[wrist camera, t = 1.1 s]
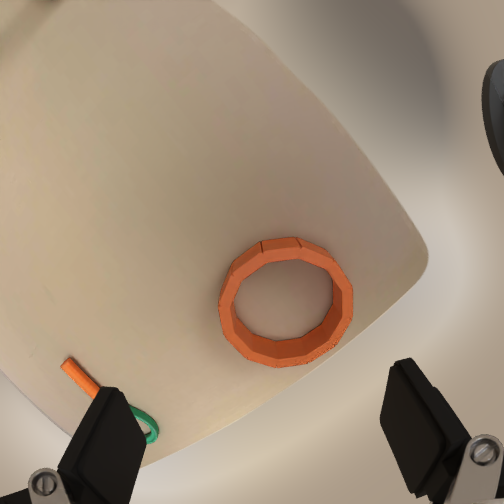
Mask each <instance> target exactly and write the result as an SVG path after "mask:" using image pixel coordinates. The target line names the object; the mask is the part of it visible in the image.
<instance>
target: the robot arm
mask: <svg viewBox="0 0 504 504" xmlns="http://www.w3.org/2000/svg"><path fill="white" fill-rule="evenodd" d="M380 424H381V427H382V429H383V431H384V434H385V435H386V438H387V440H388V443H389V445H390V447H391V449H392V452H393V454H394V456H395V458H396V461H397V464H398V466H399V468H400V471H401V473H402V475H403V478H404V480H405V483H406V485H407V488H408V490H409V492H410V493H411V494H412V493H415V495H416V498H419V497H422V496H424V495H428V498H429V500H430V501H431V502H430V504H504V449H503V446H502V443H501V442H500V441H499V439H497V438H496V437H494V436H491V435H487V434H482V435H479V436H476V437H474V438H473V439H472V438H471V436H470V435H469V433H468V432H467V430H466V429H465V428H464V426H463V424H462V423H461V421H460V420H459V418H458V417H457V416H456V414H455V413H454V411H453V410H452V408H451V407H450V405H449V404H448V403H447V401H446V400H445V398H444V397H443V396H442V394H441V393H440V391H439V390H438V389H437V388H436V387H433V386H432V385H431V383H430V382H429V381H428V379H427V378H426V377H425V375H424V374H423V372H422V371H421V370H420V368H419V367H418V365H417V364H416V363H415V361H414V360H413V359H412V358H407V359H402V360H399V361H396V362H395V363H394V366H392V367H390V370H389V376H388V381H387V386H386V391H385V396H384V401H383V405H382V410H381V414H380ZM146 445H147V441H146V437H145V435H144V433H143V431H142V430H141V428H140V426H139V424H138V422H137V420H136V418H135V416H134V414H133V412H132V410H131V408H130V406H129V404H128V402H127V400H126V398H125V396H124V394H123V392H121V391H119V389H118V388H116V387H104V386H103V387H101V388H100V389H99V391H98V393H97V394H96V396H95V398H94V400H93V401H92V403H91V405H90V407H89V408H88V410H87V412H86V414H85V416H84V417H83V419H82V421H81V423H80V425H79V427H78V428H77V430H76V432H75V434H74V436H73V438H72V440H71V441H70V443H69V445H68V447H67V449H66V451H65V453H64V455H63V457H62V459H61V461H60V463H59V465H58V470H57V472H56V471H55V470H53V469H50V468H42V469H39V470H37V471H35V472H34V473H33V474H32V475H31V477H30V478H29V482H28V488H26V489H24V490H21V491H18V492H15V493H13V494H9V495H6V496H3V497H0V504H129V502H130V499H131V495H132V492H133V488H134V485H135V481H136V478H137V475H138V471H139V468H140V465H141V461H142V458H143V455H144V452H145V448H146Z"/></svg>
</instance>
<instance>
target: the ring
mask: <svg viewBox="0 0 504 504" xmlns="http://www.w3.org/2000/svg"><path fill="white" fill-rule="evenodd" d="M261 242H262V244H261ZM261 242H258V243H257V244H256V245H254V246H253V247H252V248H250V249H249V250H248V251H246V252H245V253H244V254H242V255H241V256H240V257H238V258H237V259H235V260H234V262H233V263H232V265H231V267H230V269H229V272H228V274H227V277H226V279H225V281H224V284H223V286H222V289H221V293H220V298H219V302H218V310H219V315H220V320H221V325H222V330H223V335H224V336H225V338H226V339H227V340H228V341H229V342H230V343H231V344H232V345H233V346H234V347H235V348H236V349H237V350H238V351H239V352H240V353H241V354H242V355H243V356H244V357H245V358H246V357H247V359H248V360H251V361H254V362H257V363H260V364H264V365H267V366H270V367H274V368H276V366H277V368H282V367H289V366H296V365H302V364H308V362H309V363H310V362H312V361H313V360H315V359H316V358H318V357H320V356H321V355H323V354H324V353H326V352H327V351H329V350H330V349H332V348H334V347H335V345H337V344H338V342H339V340H340V339H341V337H342V336H343V334H344V332H345V331H346V329H347V327H348V326H349V324H350V322H351V320H352V317H353V288H352V285H351V283H350V282H349V280H348V279H347V277H346V276H345V274H344V273H343V271H342V270H341V268H340V267H339V265H338V264H337V262H336V261H335V260H334V258H333V257H332V256H331V255H330V254H329V253H328V252H327V251H326V250H325V249H323V248H321V247H319V246H316V245H314V244H312V243H309V242H307V241H305V240H302V239H300V238H298V237H296V238H295V237H288V238H280V239H272V240H265V241H261ZM292 259H301V260H303V261H306V262H308V263H311V264H313V265H316V266H318V267H321V268H323V269H326V270H327V272H328V273H329V275H330V276H331V278H332V279H333V304H332V306H331V308H330V310H329V312H328V313H327V315H326V317H325V319H324V321H323V322H322V324H321V325H320V326H318V327H317V328H315V329H314V330H312V331H311V332H309V333H308V334H306V335H305V336H303V337H302V338H298V339H291V340H284V341H276V342H275V341H272V340H269V339H266V338H263V337H260V336H257V335H254V334H252V333H251V332H250V331H249V330H248V329H247V328H246V327H245V326H244V324H243V323H242V322H241V321H240V320H239V319H238V318H237V317H236V312H235V306H234V301H233V300H234V298H235V295H236V293H237V291H238V289H239V286H240V284H241V282H242V281H243V280H244V279H245V278H247V277H248V276H250V275H251V274H252V273H254V272H255V271H256V270H258V269H259V268H261V267H262V266H263V265H265V264H266V263H269V262H277V261H284V260H292Z"/></svg>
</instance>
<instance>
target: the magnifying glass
mask: <svg viewBox="0 0 504 504" xmlns="http://www.w3.org/2000/svg"><path fill="white" fill-rule="evenodd" d="M60 367H61V368H62V369H63V370H64V371H65V372H66V373H67V374H68V375H69V377H71V378H72V379H73V380H74V381H75V382H76V383H77V384H78V385H79V386H80V387H81V388H82V389H83V390H84V391H85V392H86V393H87V394H88V395H89V396H90V397H91V398H92V399H94V398H95V396H96V394H97V393H98V391H99V389H100V388H99V387H98V386H97V385H96V384H95V383H94V382H93V381H92V380H91V379H90V378H89V377H88V376H87V375H86V374H85V373H84V372H83V371H82V370H81V369H80V368H79V367H78V366H77V365H76V364H75V363H74V362H73V361H72V360H71V359H70V358H68V359H67V360H66V361H64V363H63V364H62V365H61V366H60ZM130 408H131V410H132V412H133V414H134V416H135V418H137V419H139V420H141V421H143V422H144V423H146V424H147V425H148V426H149V428H150V429H151V433H150V434H148V435H145V437H146V441H147V444H151V443H153V442H155V441H156V440H157V437H158V432H159V429H158V426H157V424H156V423H155V421H154V420H153V419H152V418H151V417H150V416H148V415H147V414H145V413H144V412H142V411H140V410H138V409H136V408H134V407H132V406H130Z"/></svg>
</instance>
